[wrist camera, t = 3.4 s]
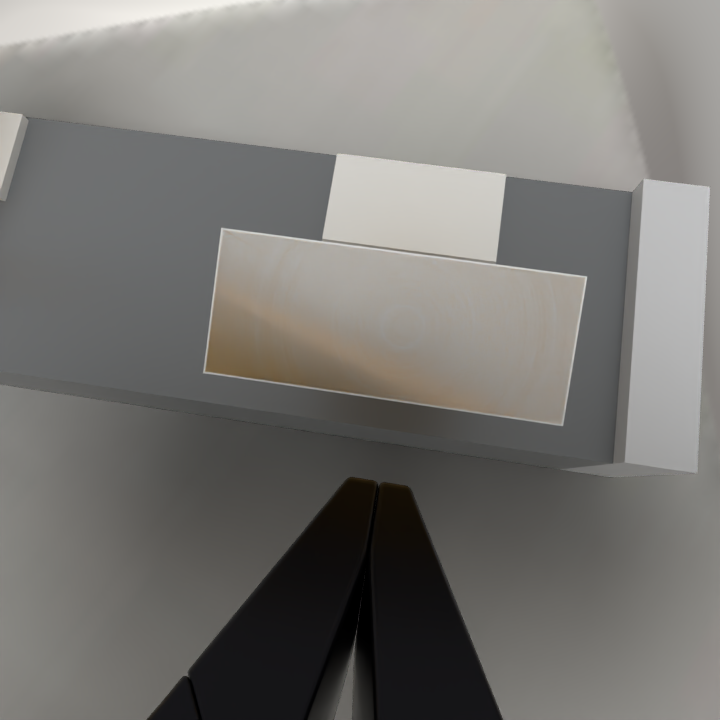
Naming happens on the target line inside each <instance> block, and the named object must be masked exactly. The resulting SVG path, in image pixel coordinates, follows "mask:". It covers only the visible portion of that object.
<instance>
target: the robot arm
mask: <svg viewBox="0 0 720 720" xmlns="http://www.w3.org/2000/svg"><path fill="white" fill-rule="evenodd" d="M377 491H378V493H377ZM376 498H377V500H376ZM375 505H376V506H375ZM373 518H374V519H373ZM365 571H366V572H365ZM364 578H365V579H364ZM363 584H364V585H363ZM362 591H363V592H362ZM361 598H362V599H361ZM360 604H361V606H360ZM359 611H360V613H359ZM358 617H359V620H358ZM357 624H358V626H357ZM356 630H357V634H356ZM355 636H356V642H355V654H354V674H353V705H352V720H503V718H502V715H501V713H500V710H499V708H498V705H497V703H496V700H495V698H494V695H493V693H492V690H491V688H490V685H489V683H488V680H487V678H486V675H485V673H484V670H483V668H482V665H481V663H480V660H479V658H478V655H477V653H476V650H475V648H474V645H473V643H472V640H471V638H470V635H469V633H468V630H467V628H466V625H465V623H464V620H463V618H462V615H461V613H460V610H459V608H458V605H457V603H456V600H455V598H454V595H453V593H452V590H451V588H450V585H449V583H448V580H447V578H446V575H445V573H444V570H443V568H442V565H441V563H440V560H439V558H438V555H437V553H436V550H435V548H434V545H433V543H432V540H431V538H430V535H429V533H428V530H427V528H426V525H425V523H424V520H423V518H422V515H421V513H420V510H419V508H418V505H417V503H416V500H415V498H414V495H413V493H412V491H411V489H410V488H409V487H408V486H405V485H399V484H392V483H386V482H383V483H381V484H380V485H379V487H378V484H377V482H376V481H374V480H368V479H362V478H355V477H350V478H348V479H346V480H345V481H344V482H343V484H342V485H341V486H340V487H339V488H338V490H337V491H336V492H335V493H334V495H333V496H332V497H331V498H330V499H329V501H328V502H327V503H326V504H325V505H324V507H323V508H322V509H321V510H320V511H319V513H318V514H317V515H316V516H315V518H314V519H313V520H312V521H311V522H310V524H309V525H308V526H307V527H306V528H305V530H304V531H303V532H302V533H301V534H300V536H299V537H298V538H297V539H296V541H295V542H294V543H293V544H292V545H291V547H290V548H289V549H288V550H287V551H286V553H285V554H284V555H283V556H282V557H281V559H280V560H279V561H278V562H277V564H276V565H275V566H274V567H273V568H272V570H271V571H270V572H269V573H268V574H267V576H266V577H265V578H264V579H263V580H262V582H261V583H260V584H259V585H258V587H257V588H256V589H255V590H254V591H253V593H252V594H251V595H250V596H249V597H248V599H247V600H246V601H245V602H244V603H243V605H242V606H241V607H240V608H239V610H238V611H237V612H236V613H235V614H234V616H233V617H232V618H231V619H230V620H229V622H228V623H227V624H226V625H225V626H224V628H223V629H222V630H221V631H220V633H219V634H218V635H217V636H216V637H215V639H214V640H213V641H212V642H211V643H210V645H209V646H208V647H207V648H206V649H205V651H204V652H203V653H202V654H201V656H200V657H199V658H198V659H197V660H196V662H195V663H194V664H193V665H192V666H191V668H190V669H189V670H188V677H187V676H183V677H182V678H181V679H180V680H179V682H178V683H177V684H176V685H175V687H174V688H173V689H172V690H171V691H170V693H169V694H168V695H167V696H166V697H165V699H164V700H163V701H162V702H161V703H160V705H159V706H158V707H157V708H156V709H155V710H154V712H153V713H152V714H151V715H150V716H149V717H148V718H147V720H334V717H335V714H336V710H337V706H338V703H339V699H340V696H341V692H342V688H343V685H344V681H345V678H346V674H347V670H348V667H349V663H350V659H351V655H352V651H353V646H354V641H355Z"/></svg>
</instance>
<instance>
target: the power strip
mask: <svg viewBox="0 0 720 720" xmlns="http://www.w3.org/2000/svg"><path fill="white" fill-rule="evenodd" d="M709 197H710V187H705V186H697V185H689V184H681V183H673V182H665V181H657V180H649V179H643V180H642V182H641V183H640V184H639V185H638V186H637V187H636V189H635V190H634V191H633V192H626V191H618V190H610V189H602V188H594V187H586V186H578V185H570V184H562V183H554V182H546V181H538V180H530V179H522V178H514V177H506V174H501V173H493V172H485V171H477V170H469V169H461V168H453V167H445V166H437V165H429V164H421V163H412V162H404V161H396V160H388V159H380V158H372V157H364V156H356V155H348V154H340V153H337V156H336V155H328V154H320V153H312V152H304V151H296V150H288V149H280V148H272V147H264V146H256V145H247V144H239V143H231V142H223V141H215V140H207V139H199V138H191V137H183V136H175V135H167V134H159V133H151V132H143V131H135V130H127V129H118V128H110V127H102V126H94V125H86V124H78V123H70V122H62V121H54V120H46V119H38V118H30V117H25V116H24V115H23V114H17V113H9V112H0V384H1V385H8V386H14V387H21V388H27V389H34V390H41V391H47V392H54V393H60V394H67V395H73V396H80V397H87V398H93V399H100V400H106V401H113V402H119V403H126V404H133V405H139V406H146V407H152V408H159V409H165V410H172V411H179V412H185V413H192V414H198V415H205V416H211V417H218V418H225V419H231V420H238V421H244V422H251V423H257V424H264V425H270V426H277V427H284V428H290V429H297V430H303V431H310V432H316V433H323V434H330V435H336V436H343V437H349V438H356V439H362V440H369V441H376V442H382V443H389V444H395V445H402V446H408V447H415V448H422V449H428V450H435V451H441V452H448V453H454V454H461V455H468V456H474V457H481V458H487V459H494V460H500V461H507V462H514V463H520V464H527V465H533V466H540V467H546V468H553V469H559V470H566V471H573V472H579V473H586V474H592V475H599V476H605V477H631V476H653V475H674V474H695V473H697V472H698V449H699V426H700V403H701V380H702V357H703V333H704V311H705V289H706V266H707V243H708V220H709ZM221 228H226V229H234V230H241V231H249V232H256V233H264V234H272V235H279V236H287V237H294V238H302V239H309V240H317V241H324V242H332V243H339V244H347V245H354V246H362V247H369V248H377V249H384V250H392V251H399V252H407V253H415V254H422V255H430V256H437V257H445V258H452V259H460V260H467V261H475V262H482V263H490V264H497V265H505V266H512V267H520V268H527V269H535V270H542V271H550V272H558V273H565V274H573V275H580V276H587V281H586V288H585V294H584V300H583V306H582V312H581V318H580V324H579V331H578V337H577V343H576V349H575V355H574V361H573V368H572V374H571V380H570V386H569V392H568V398H567V405H566V411H565V417H564V423H563V426H558V425H552V424H545V423H538V422H531V421H525V420H518V419H511V418H504V417H497V416H491V415H484V414H477V413H470V412H464V411H457V410H450V409H443V408H437V407H430V406H423V405H416V404H410V403H403V402H396V401H389V400H383V399H376V398H369V397H362V396H356V395H349V394H342V393H335V392H328V391H322V390H315V389H308V388H301V387H295V386H288V385H281V384H274V383H268V382H261V381H254V380H247V379H241V378H234V377H227V376H220V375H214V374H207V373H203V371H204V363H205V354H206V346H207V338H208V330H209V322H210V314H211V306H212V298H213V290H214V282H215V274H216V266H217V258H218V250H219V242H220V234H221Z"/></svg>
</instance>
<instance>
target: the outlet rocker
mask: <svg viewBox="0 0 720 720" xmlns="http://www.w3.org/2000/svg"><path fill="white" fill-rule="evenodd" d="M586 281H587V276H580V275H573V274H565V273H558V272H550V271H542V270H535V269H527V268H520V267H512V266H505V265H497V264H490V263H482V262H475V261H467V260H460V259H452V258H445V257H437V256H430V255H422V254H415V253H407V252H399V251H392V250H384V249H377V248H369V247H362V246H354V245H347V244H339V243H332V242H324V241H317V240H309V239H302V238H294V237H287V236H279V235H272V234H264V233H256V232H249V231H241V230H234V229H226V228H221V234H220V242H219V250H218V258H217V266H216V274H215V282H214V290H213V298H212V306H211V314H210V322H209V330H208V338H207V346H206V354H205V363H204V371H203V373H207V374H214V375H220V376H227V377H234V378H241V379H247V380H254V381H261V382H268V383H274V384H281V385H288V386H295V387H301V388H308V389H315V390H322V391H328V392H335V393H342V394H349V395H356V396H362V397H369V398H376V399H383V400H389V401H396V402H403V403H410V404H416V405H423V406H430V407H437V408H443V409H450V410H457V411H464V412H470V413H477V414H484V415H491V416H497V417H504V418H511V419H518V420H525V421H531V422H538V423H545V424H552V425H558V426H563V423H564V417H565V411H566V405H567V398H568V392H569V386H570V380H571V374H572V368H573V361H574V355H575V349H576V343H577V337H578V331H579V324H580V318H581V312H582V306H583V300H584V294H585V288H586Z"/></svg>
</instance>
